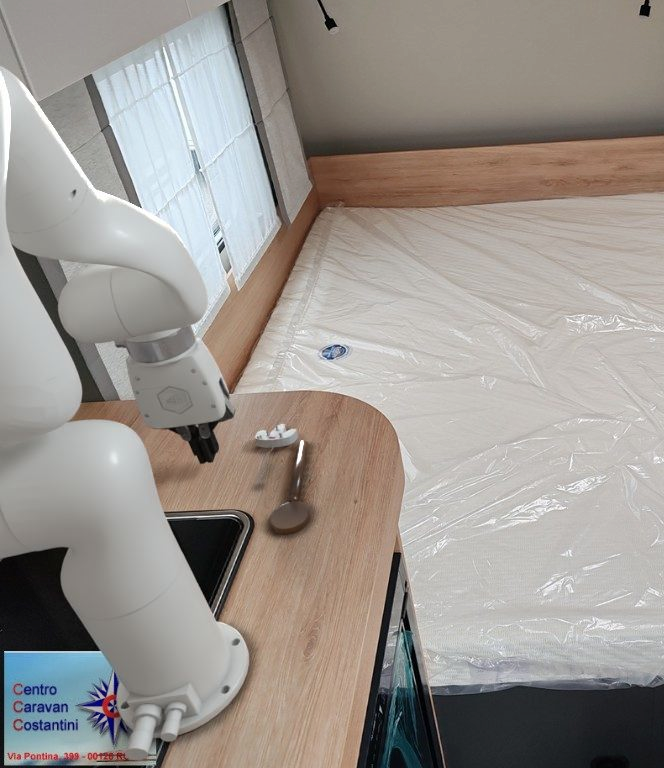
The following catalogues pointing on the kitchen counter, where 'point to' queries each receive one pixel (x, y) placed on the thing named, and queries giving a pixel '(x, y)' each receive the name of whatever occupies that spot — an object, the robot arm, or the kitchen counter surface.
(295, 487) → the spoon
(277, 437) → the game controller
